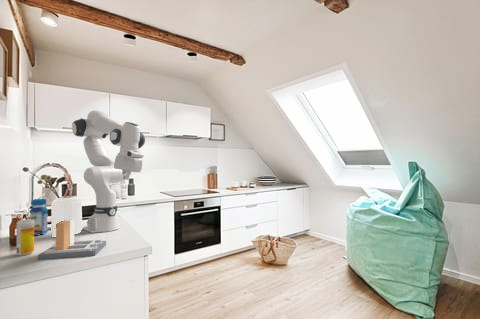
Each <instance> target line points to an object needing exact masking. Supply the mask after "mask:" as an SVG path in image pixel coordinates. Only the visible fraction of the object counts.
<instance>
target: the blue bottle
mask: <svg viewBox="0 0 480 319" xmlns="http://www.w3.org/2000/svg"><path fill="white" fill-rule="evenodd" d="M46 205H47V199H46V198H35V199H32V200H31V206H32V207H31V208H30V210H29V218H28V219H33V220H34V235H39V236H41V235H40V234H44V235H46V234H48V217H49V214H48V210H49V209H48V208H47V206H46ZM45 233H46V234H45Z"/></svg>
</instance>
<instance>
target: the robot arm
mask: <svg viewBox="0 0 480 319" xmlns="http://www.w3.org/2000/svg"><path fill="white" fill-rule="evenodd" d="M71 131H72V133H73V134H74V135H75V137H81V138H82V137H83V138H84V137H85V138H84V139H83V147H84V151H85V153H86V156H87V158H88V160H89V163H90V164H91V165H92V166H91V167H88V168H86V169H85V170H84V173H83V179H84V182H85V183H87V184H88V185H89V186H90V187H91V188H92V189H93V191H94V194H95V202H96V206H95V207H94V208H93V210H94V212H93V214H92V215H90V217H89V218H87V221H86V224H87V225H86V226H83V227H82V230H84V231H86V232H88V233H91V234H93V233H104V232H105V233H106V232H107V233H108V232H111V231H116V230H118V229H120V227H121V224H120V220H119V219H120V218H119V213H118V205H117V193H116V192H115V191H114V190H112V189H110V187H109V184H119V183H121V182H124V181H125V180H129V179H130V176H131V174H132V172H133V173H141V171H142V167H143V158H144V153H143V152H141V151H140V150H139V149H141V148H142V147H143V146H144V145H145V142H146V138H145V135H144V134H143V132H141V127H140V125H139V124H137V123H133V122H129V121H127V122H124V123H123V124H122V123H120V122H119V121H117V120H115V119H114V118H113V117H111V116H109V115H108V114H107V113H105V112H103V111H100V110H91V111H90V112H88V114H87V116H86V118H82V117H81V118H79V119H75V120H74V121H72V123H71ZM108 135H109V141H110V143H111V144H112V145H114V146H117V147H119V152H118V153H117V155H115V158H114V159H113V158H111V157H110V155H109V154H108V151H107V149H106V147H105V146H104V144H103V142H102V139H106V138H107V137H108Z"/></svg>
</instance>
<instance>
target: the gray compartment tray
mask: <svg viewBox="0 0 480 319" xmlns="http://www.w3.org/2000/svg"><path fill="white" fill-rule="evenodd" d="M64 221H69V248H67V249H66V250H56V243H55V244H54V245H53V246H51V247H49V248H47V249H45V250H44V251H42V252H40V253H38V255H37V259H38V260H50V259H51V260H53V259H65V258H81V257H82V258H83V257H93V256H94V257H95V256H96V255H97V254H98V253H100V252H101V251H102V250H103V249H104V248H105V247H106V246H107V240H102V239H87V240H75V218H72V219H67V220H64Z"/></svg>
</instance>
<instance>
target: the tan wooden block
mask: <svg viewBox="0 0 480 319" xmlns="http://www.w3.org/2000/svg"><path fill="white" fill-rule="evenodd" d="M55 244H56V250H66V249H67V248H69V221H61V222H59V223H57V224H56V228H55Z"/></svg>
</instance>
